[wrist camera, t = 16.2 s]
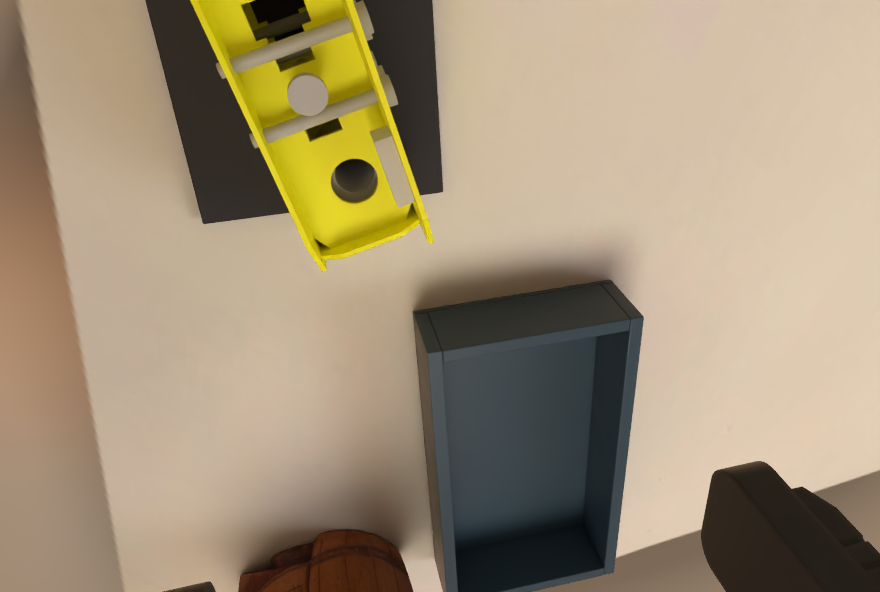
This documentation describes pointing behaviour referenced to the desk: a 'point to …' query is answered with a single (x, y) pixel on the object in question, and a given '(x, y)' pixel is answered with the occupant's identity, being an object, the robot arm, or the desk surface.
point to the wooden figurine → (334, 567)
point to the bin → (527, 434)
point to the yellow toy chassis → (320, 121)
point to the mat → (226, 129)
